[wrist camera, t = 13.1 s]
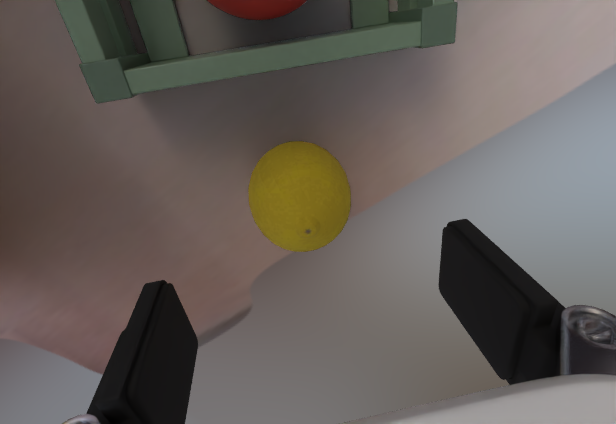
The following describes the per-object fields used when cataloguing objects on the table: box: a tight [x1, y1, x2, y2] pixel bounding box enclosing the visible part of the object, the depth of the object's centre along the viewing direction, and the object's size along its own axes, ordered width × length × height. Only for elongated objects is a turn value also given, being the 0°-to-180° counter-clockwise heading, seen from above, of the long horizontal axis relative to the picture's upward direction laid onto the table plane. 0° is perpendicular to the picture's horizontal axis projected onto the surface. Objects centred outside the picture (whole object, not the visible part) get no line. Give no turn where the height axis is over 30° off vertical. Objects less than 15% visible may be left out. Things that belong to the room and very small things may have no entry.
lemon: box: [248, 141, 351, 252], centre depth 18 cm, size 6×6×8 cm
